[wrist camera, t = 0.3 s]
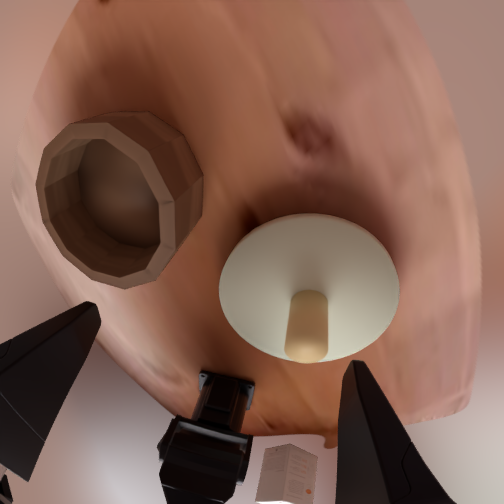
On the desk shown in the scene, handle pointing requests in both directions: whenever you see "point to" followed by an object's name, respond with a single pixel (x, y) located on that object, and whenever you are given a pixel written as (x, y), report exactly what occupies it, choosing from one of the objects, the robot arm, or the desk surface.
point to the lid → (309, 288)
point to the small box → (287, 476)
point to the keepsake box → (119, 195)
